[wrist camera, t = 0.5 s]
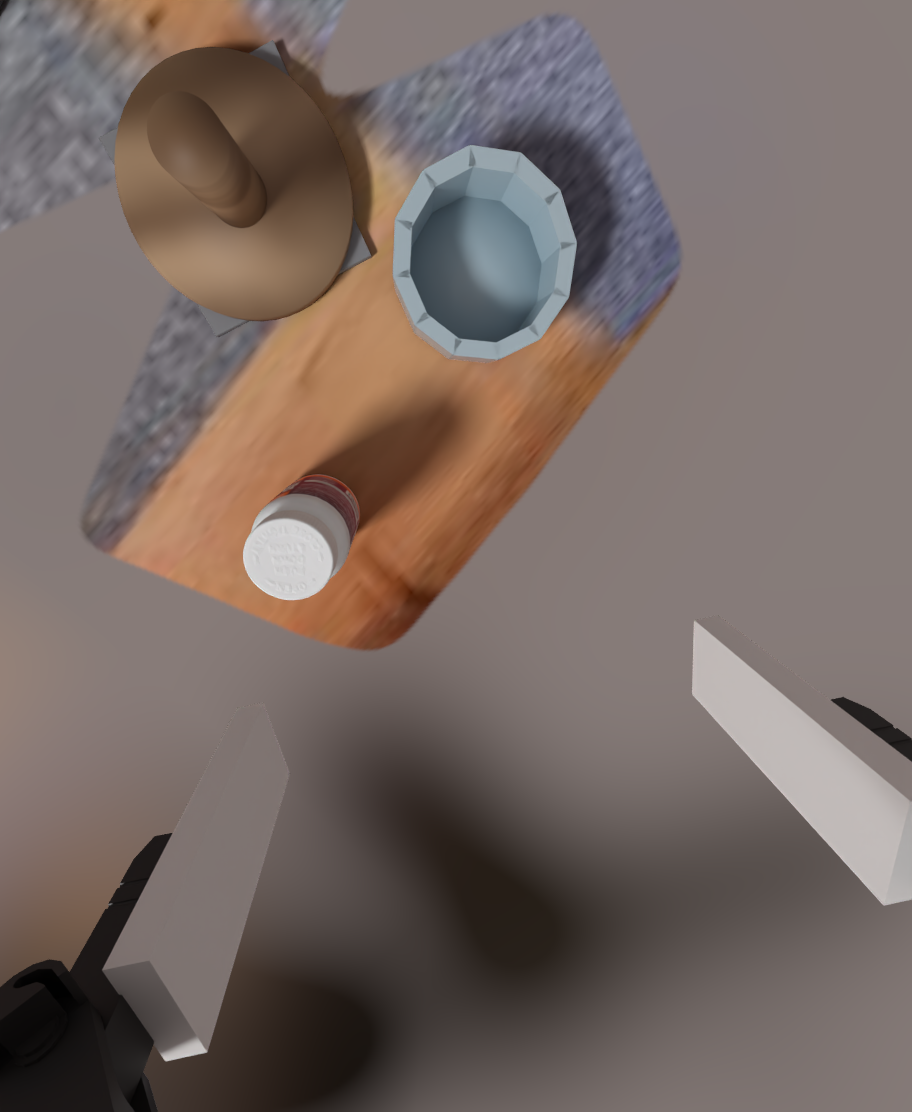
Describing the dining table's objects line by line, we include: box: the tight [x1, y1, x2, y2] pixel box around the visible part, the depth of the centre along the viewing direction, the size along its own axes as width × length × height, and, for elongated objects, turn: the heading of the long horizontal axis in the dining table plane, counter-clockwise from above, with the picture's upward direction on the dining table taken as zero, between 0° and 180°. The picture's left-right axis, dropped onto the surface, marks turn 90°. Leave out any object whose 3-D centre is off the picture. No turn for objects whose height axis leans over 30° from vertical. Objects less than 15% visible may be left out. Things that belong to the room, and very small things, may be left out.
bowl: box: [393, 145, 577, 363], centre depth 31 cm, size 11×11×5 cm
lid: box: [114, 47, 354, 321], centre depth 27 cm, size 14×14×8 cm
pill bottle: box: [243, 474, 360, 600], centre depth 33 cm, size 6×6×11 cm
